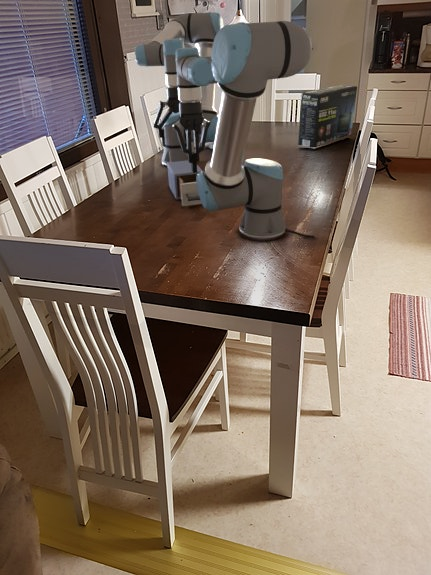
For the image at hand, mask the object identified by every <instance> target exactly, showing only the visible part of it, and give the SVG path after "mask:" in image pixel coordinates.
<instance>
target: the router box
mask: <svg viewBox="0 0 431 575" xmlns="http://www.w3.org/2000/svg"><path fill="white" fill-rule="evenodd" d="M357 93H358V86H356V85H350V84H339V85H338V84H337V85H334V86H328V87H324V88H318V89H314V90H309V91H304V92H301V93H300V109H299V110H300V111H299V124H298V137H297V146H298V145H302V146H307V147H317V146H320V145H323V144H325V143H328V142H331V141H333V140H336V139H338V138H341V137H344V136H347V135H351V136H352V133H353V132H352V131H353V125H354V115H355V109H356V99H357ZM311 151H313V150H312V149H311Z"/></svg>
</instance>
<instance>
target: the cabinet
mask: <svg viewBox="0 0 431 575" xmlns="http://www.w3.org/2000/svg"><path fill="white" fill-rule="evenodd" d="M166 168H167V176H168V187H169V189H170V191H171V192H172V195H173V196H174V198H175V200H182V199H181V198H180V196H179V194H178V187H177V176H182V175H191V174H198V173H200V172H204V171H203V170H202V168H201V167H200V166H199V165H198V164H197V173H193V172H192V168H191V163H189V162H188V160H186V161H177V162H168V163H167V167H166Z"/></svg>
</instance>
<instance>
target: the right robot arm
mask: <svg viewBox="0 0 431 575" xmlns="http://www.w3.org/2000/svg"><path fill="white" fill-rule="evenodd" d="M312 45H313V44H312V40H311V38H310V36H309V34H308V32H307V31H306V30H305V28H303V27H302V26H301V25H300V24H298V23H295V22H292V21H288V20H278V21H263V22H262V21H261V22H244V21H241V22H236V23H230V24H226V25H225V24H224V27H222V28H221V29H220V30H219V31H218V33H217V34H216V36H215V39H214V42H213V46H212V52H211V56H208V57H200V55H199V50H198V48H195V47H193V48H179V49H177V50H176V60H175V62H176V69H177V82H178V96H179V100H180V103H179V111H180V117H179V121H178V122H177V123H175V124H173V127H174V129H175V130H176V132H177V135H178V138H179V142H180V145H181V148H182V151H183V152H184V153H188V162H189V163H191V168H192V172H193V173H197V165H198V163H200V153H201V152H204V151H205V149H206V148H205V142H206V137H207V131H208V128H209V126H210V124H211V123H210V122H209V121H207V120H205V119H204V117H203V115H202V102H201V101H200V100H201V99H202V98H201V86H207V85H209V84H214V83H215V84H217V85H218V88H219V89H220V90H221V95H220V96H221V97H220V103H219V110H218V122H217V129H216V135H215V142H214V149H212V155H211V159H210V160H208V161H207V163H206V164H205V167H204V171H203V172H200V173H198V174H197V176H196V182H197V189H198V193H199V197H200V200H201V202H202V204H201V205H202V207H203V208H204V209H205V211H206V210H207V211H208V212H215V211H217V212H218V211H222V210H227V209H228V210H229V209H233V208H238V207H239V208H240V207H244V211H243V213H242V216H241V220H240V222H239V225H238V232H239V235H240V236H241V237H242V238H244V239H247V240H250V241H254V242H271V241H277V240H279V239H281V238H283V237H285V235H286V234H287V233H290V234H294V235H297V236H299V237H303V238H309V239H314V238H315V235H311V234H304V233H301V232H298V231H296V230H292V229H288V228H287V223H286V221H285V216H284V214H283V210H282V200H283V183H284V174H283V173H284V172H283V171H284V170H283V166H282V164H280V163H279V162H277V161H275V160H271V159H266V158H259V157H258V158H257V157H256V158H255V157H253V158H247V159H245V160H244V157H245V152H246V149H247V144H248V139H249V135H250V130H251V126H252V121H253V116H254V113H255V109H256V103H257V99H258V98H259V97H261V96H262V95H263V94H264V93H265V91H266V88H267V83H268V81H269V80H278V79H279V80H280V79H285V78H290V77H293V76H295V75H297V74H299V73H300V72H302V71H303V70H304V69H305V68H306V67H307V65H308V64H309V62H310V59H311V56H312V51H313V50H312V48H313V47H312ZM202 122H203V130H202V135H201V141H200V142H199V137H198V133H199V131H198V129H199V127H200V126H201V124H202ZM180 124H181V125H182V126H183V127H184V128H185V129H186V140H187V149H186V147H185V143H184V140H183V137H182V134H181V131H180V128H181V126H180ZM191 130H193V134H194V142H193V144H192V142H191ZM192 145H193V146H192ZM192 148H193V149H194V151H193V149H192ZM243 161H244V163H243ZM242 165H244V166H242Z"/></svg>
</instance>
